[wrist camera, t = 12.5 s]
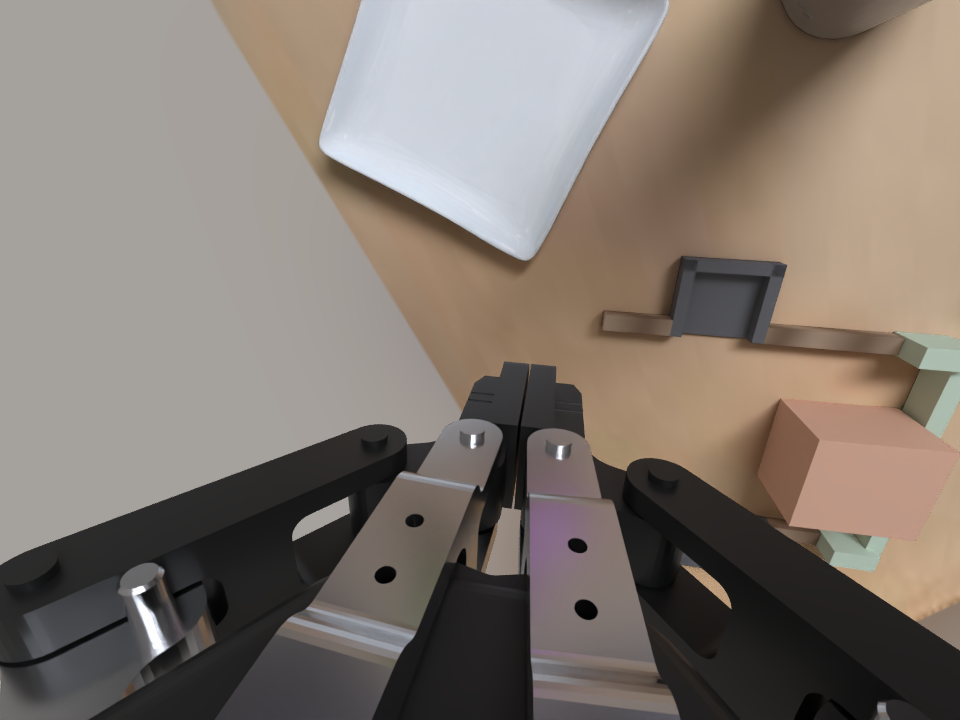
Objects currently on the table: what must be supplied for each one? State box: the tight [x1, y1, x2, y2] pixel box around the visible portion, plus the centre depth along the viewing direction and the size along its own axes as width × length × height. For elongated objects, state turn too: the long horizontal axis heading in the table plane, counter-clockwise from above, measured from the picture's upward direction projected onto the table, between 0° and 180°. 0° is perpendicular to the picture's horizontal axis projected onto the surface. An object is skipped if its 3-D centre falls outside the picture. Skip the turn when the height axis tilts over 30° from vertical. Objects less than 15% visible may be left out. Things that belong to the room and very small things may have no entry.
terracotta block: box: [757, 398, 960, 541], centre depth 41 cm, size 10×9×8 cm
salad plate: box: [319, 0, 669, 261], centre depth 36 cm, size 21×21×3 cm
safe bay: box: [816, 332, 960, 572], centre depth 42 cm, size 5×23×4 cm, turn 178°
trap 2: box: [670, 256, 787, 344], centre depth 40 cm, size 8×7×2 cm
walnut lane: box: [602, 311, 905, 545], centre depth 45 cm, size 28×23×2 cm
